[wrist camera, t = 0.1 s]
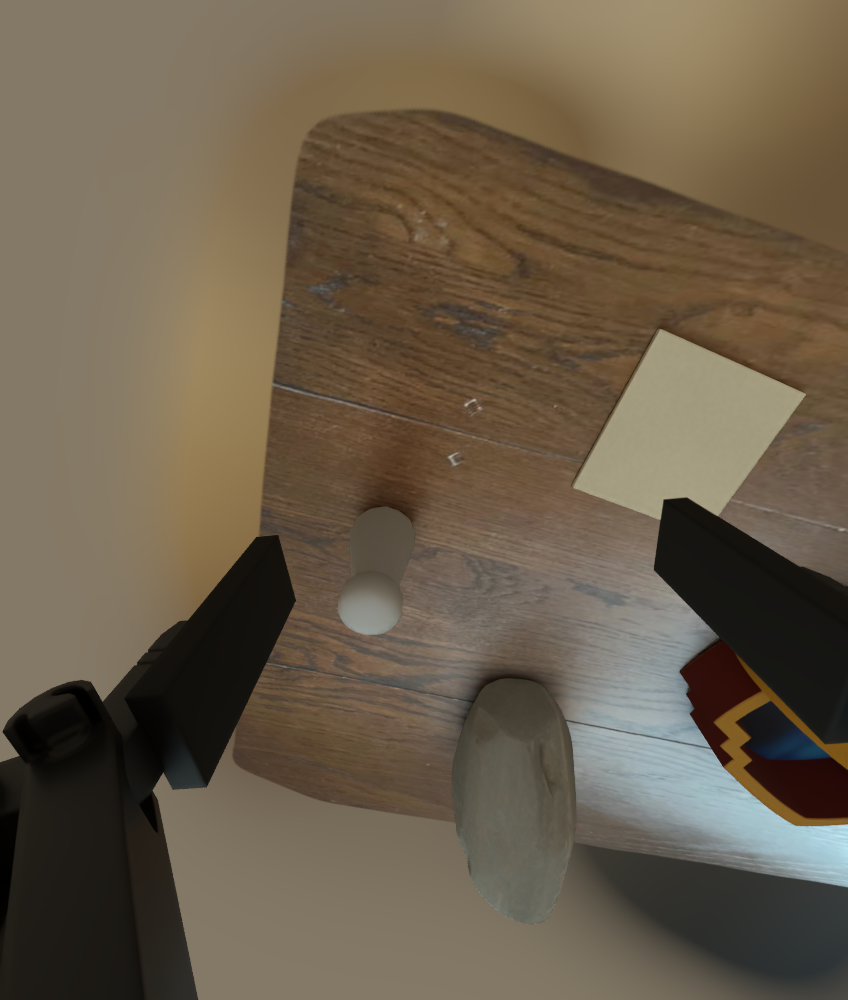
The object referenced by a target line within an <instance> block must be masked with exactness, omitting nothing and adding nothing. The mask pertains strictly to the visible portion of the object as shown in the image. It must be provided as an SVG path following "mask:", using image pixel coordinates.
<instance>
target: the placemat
mask: <svg viewBox="0 0 848 1000" xmlns="http://www.w3.org/2000/svg"><path fill="white" fill-rule="evenodd" d="M805 395H806V394H805V393H803V392H801V391H799V390H796V389H794V388H792V387H790V386H787V385H785V384H783V383H781V382H779V381H776V380H774V379H772V378H770V377H767V376H765V375H763V374H761V373H758V372H756V371H754V370H752V369H749V368H747V367H745V366H743V365H741V364H738V363H736V362H734V361H732V360H729V359H727V358H725V357H723V356H720V355H718V354H716V353H714V352H711V351H709V350H707V349H705V348H703V347H700V346H698V345H696V344H694V343H691V342H689V341H687V340H685V339H682V338H680V337H678V336H676V335H673V334H671V333H669V332H667V331H665V330H662V329H657V331H656V333H655V335H654V337H653V339H652V340H651V342H650V344H649V346H648V348H647V349H646V351H645V353H644V355H643V357H642V358H641V360H640V362H639V364H638V366H637V368H636V369H635V371H634V373H633V375H632V377H631V378H630V380H629V382H628V384H627V386H626V387H625V389H624V391H623V393H622V395H621V397H620V398H619V400H618V402H617V404H616V406H615V407H614V409H613V411H612V413H611V415H610V416H609V418H608V420H607V422H606V424H605V426H604V427H603V429H602V431H601V433H600V435H599V436H598V438H597V440H596V442H595V444H594V445H593V447H592V449H591V451H590V453H589V455H588V456H587V458H586V460H585V462H584V464H583V465H582V467H581V469H580V471H579V473H578V474H577V476H576V478H575V480H574V482H573V484H572V485H571V486H572V487H573V488H575V489H578V490H581V491H583V492H586V493H589V494H591V495H594V496H597V497H599V498H602V499H605V500H608V501H610V502H613V503H616V504H618V505H621V506H624V507H626V508H629V509H632V510H635V511H637V512H640V513H643V514H645V515H648V516H651V517H653V518H656V519H659V520H661V514H662V507H663V499H673V498H684V497H687V498H689V499H691V500H692V501H694V502H695V503H697V504H699V505H700V506H702V507H703V508H705V509H707V510H708V511H710V512H712V513H713V514H715V515H716V516H718V515H719V514H720V512H721V511H722V510H723V508H724V507H725V506H726V504H727V503H728V501H729V500H730V499H731V497H732V496H733V495H734V493H735V492H736V490H737V489H738V488H739V486H740V485H741V483H742V482H743V481H744V479H745V478H746V477H747V475H748V474H749V472H750V471H751V470H752V468H753V467H754V466H755V464H756V463H757V461H758V460H759V459H760V457H761V456H762V454H763V453H764V452H765V450H766V449H767V448H768V446H769V445H770V443H771V442H772V441H773V439H774V438H775V437H776V435H777V434H778V432H779V431H780V430H781V428H782V427H783V425H784V424H785V423H786V421H787V420H788V419H789V417H790V416H791V414H792V413H793V412H794V410H795V409H796V408H797V406H798V405H799V403H800V402H801V401H802V399H803V398H804V396H805Z"/></svg>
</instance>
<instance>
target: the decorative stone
mask: <svg viewBox="0 0 848 1000" xmlns="http://www.w3.org/2000/svg"><path fill="white" fill-rule="evenodd" d="M452 798H453V803H454V810H455V820H456V830H457V835H458V839H459V842H460V844H461V847H462V848H463V851H464V853H465V854H466V856H467V859H468V868H469V873H470V877H471V879H472V881H473V883H474V885H475V886H476V888H477V889H478V891H479V892H480V894H481V895H482V896H483V897H484V899H485V900H487V902H488V903H489V904H490V905H491V906H493V908H495V909H496V910H497V911H499V912H500V913H501V914H502V915H504V916H507V917H509V918H512V919H514V920H515V921H518V922H521V923H525V924H537V923H538V924H539V923H543V922H545V921H546V920H547V919H548V918H549V916H550V915H551V913H552V911H553V909H554V906H555V903H556V901H557V898H558V896H559V893H560V890H561V887H562V884H563V880H564V877H565V874H566V871H567V867H568V864H569V860H570V856H571V852H572V847H573V843H574V837H575V830H576V792H575V776H574V761H573V748H572V741H571V736H570V733H569V729H568V726H567V723H566V720H565V718H564V716H563V714H562V711H561V709H560V708H559V706H558V704H557V702H556V701H555V699H554V698H553V697H552V695H551V694H550V693H549V692H548V691H547V690H546V689H545V688H544V687H543V686H542V685H540V684H539V683H536V682H533V681H529V680H523V679H514V678H504V679H500V680H496V681H494V682H491V683H489V684H488V685H486V686H485V687H484V688H483V689H482V690H481V692H480V693H479V695H478V697H477V698H476V700H475V702H474V704H473V706H472V708H471V710H470V712H469V714H468V716H467V718H466V721H465V723H464V726H463V729H462V732H461V735H460V739H459V742H458V745H457V749H456V753H455V757H454V762H453V770H452Z"/></svg>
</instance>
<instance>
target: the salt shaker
mask: <svg viewBox="0 0 848 1000" xmlns="http://www.w3.org/2000/svg"><path fill="white" fill-rule="evenodd" d="M414 547H415V530H414V528H413V526H412V524H411V522H410V519H409V518H407V517H406V516H405V515H404V514H402V513H401V512H400V511H399V510H395V509H392V508H390V507H388V506H384V507H377V508H371V509H369V510H367V511H366V512H364V513H363V514H361V515H359V516H358V517H357V519H356V521H355V522H354V524H353V526H352V528H351V536H350V550H351V578H350V579H349V580H347V582H346V584H345V585H344V587H343V589H342V591H341V593H340V595H339V616H340V617H341V619H342V621H343V622H344V624H345V625H346V626H347V627H349V628H350V629H352V630H353V631H354V632H356V633H361V634H365V635H376V634H383V633H384V632H386V631H388V630H390V629H391V628H393V627H394V626H395V624H396V623H397V621H398V620H399V618H400V616H401V613H402V601H403V594H402V592H401V590H400V588H399V585H400V583H401V580H402V578H403V575H404V572H405V570H406V567H407V565H408V562H409V560H410V557H411V555H412V552H413V549H414Z"/></svg>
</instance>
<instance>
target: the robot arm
mask: <svg viewBox="0 0 848 1000" xmlns="http://www.w3.org/2000/svg"><path fill="white" fill-rule="evenodd" d="M654 571H655V572H656V573H657V574H658V575H659V576H660V577H661V578H662V579H663V580H664V581H665V582H666V583H667V584H668V585H669V586H670V587H671V588H672V589H673V590H674V591H675V592H676V593H677V594H678V595H679V596H680V597H681V598H682V599H683V600H684V601H685V602H686V603H687V604H688V605H689V606H690V607H691V608H692V609H693V610H694V611H695V612H696V613H697V614H698V615H699V616H700V617H701V619H702V620H703V621H704V622H705V623H706V624H707V625H708V626H709V627H710V628H711V629H712V630H713V631H714V632H715V633H716V634H717V635H718V636H719V637H720V638H721V639H722V640H723V641H724V642H725V643H726V644H727V645H728V646H729V647H730V648H731V649H732V650H733V651H734V652H735V653H736V654H737V655H738V656H739V657H740V658H741V659H742V660H743V661H744V662H745V663H746V664H747V665H748V667H749V668H750V669H751V670H752V671H753V672H754V673H755V674H756V675H757V676H758V677H759V678H760V679H761V680H762V681H763V682H764V683H765V684H766V685H767V686H768V687H769V688H770V689H771V690H772V691H773V692H774V693H775V694H776V695H777V696H778V697H779V698H780V699H781V700H782V701H783V702H784V703H785V704H786V705H787V706H788V707H789V708H790V709H791V710H792V711H793V712H794V713H795V715H796V716H797V717H798V718H799V719H800V720H801V721H802V722H803V723H804V724H805V725H806V726H807V727H808V728H809V729H810V730H811V731H812V732H813V733H814V734H815V735H816V736H817V737H818V738H819V739H820V740H821V741H822V742H823V743H824V744H839V743H848V588H847V587H845V586H843V585H842V584H840V583H838V582H837V581H835V580H833V579H832V578H830V577H828V576H825V575H823V574H820V573H817V572H815V571H812V570H810V569H807V568H805V567H799V566H797V565H796V564H794V563H792V562H791V561H789V560H788V559H786V558H784V557H783V556H781V555H779V554H778V553H776V552H775V551H773V550H771V549H770V548H768V547H767V546H765V545H763V544H762V543H760V542H758V541H757V540H755V539H754V538H752V537H750V536H749V535H747V534H746V533H744V532H742V531H741V530H739V529H737V528H736V527H734V526H733V525H731V524H729V523H728V522H726V521H724V520H723V519H721V518H720V517H718V516H716V515H715V514H713V513H712V512H710V511H708V510H707V509H705V508H703V507H702V506H700V505H699V504H697V503H695V502H694V501H692V500H691V499H689V498H687V497H684V498H673V499H663V507H662V514H661V521H660V528H659V535H658V542H657V550H656V557H655V564H654ZM295 601H296V599H295V595H294V592H293V588H292V584H291V581H290V577H289V573H288V569H287V566H286V562H285V558H284V555H283V551H282V547H281V544H280V540H279V536H278V535H273V536H263V537H256V538H255V540H254V541H253V542H252V543H251V544H250V546H249V547H248V548H247V549H246V550H245V552H244V553H243V554H242V555H241V557H240V558H239V559H238V560H237V561H236V563H235V564H234V565H233V566H232V568H231V569H230V570H229V571H228V572H227V574H226V575H225V576H224V577H223V578H222V580H221V581H220V582H219V583H218V584H217V586H216V587H215V588H214V590H213V591H212V592H211V593H210V594H209V595H208V597H207V598H206V599H205V600H204V602H203V603H202V604H201V605H200V607H199V608H198V609H197V610H196V611H195V613H194V614H193V615H192V616H191V617H190V619H189V620H188V621H179V622H178V623H177V624H175V625H174V626H172V627H171V628H170V629H168V630H167V631H166V632H164V633H163V634H162V635H161V636H160V637H159V638H158V639H157V640H156V641H155V642H154V644H153V645H152V646H151V647H150V648H149V649H148V653H145V654H144V655H143V656H142V657H141V659H140V660H139V661H138V662H137V665H136V666H134V667H133V668H132V669H131V670H130V671H129V672H128V673H127V675H126V676H125V677H124V678H123V679H122V680H121V682H120V683H119V684H118V685H117V686H116V687H115V688H114V690H113V691H112V692H111V693H110V694H109V695H108V696H107V698H106V699H105V700H104V701H103V702H102V700H101V699H100V697H99V695H98V693H97V692H96V690H95V688H94V686H93V685H92V683H91V682H88V681H84V680H79V681H73V682H67V683H65V684H62V685H59V686H56V687H54V688H52V689H50V690H48V691H46V692H44V693H42V694H40V695H38V696H37V697H35V698H33V699H32V700H31V701H29V702H28V703H27V704H25V705H24V706H23V707H21V708H20V709H19V710H18V711H17V712H16V713H15V714H14V715H13V716H12V717H11V718H10V719H9V720H8V722H7V724H6V726H5V728H4V730H3V733H4V735H5V736H6V737H7V739H8V740H9V741H10V743H11V744H12V746H13V747H14V748H15V750H16V751H17V753H18V754H19V755H20V756H18V757H15V758H12V759H9V760H6V761H3V762H0V1000H198V997H197V992H196V987H195V982H194V977H193V972H192V967H191V962H190V957H189V952H188V947H187V942H186V937H185V932H184V928H183V922H182V917H181V913H180V908H179V903H178V898H177V893H176V888H175V883H174V878H173V873H172V868H171V863H170V859H169V854H168V849H167V843H166V839H165V834H164V829H163V824H162V819H161V814H160V809H159V804H158V800H157V798H156V796H155V794H154V793H153V791H152V790H153V788H154V787H155V785H156V783H157V782H158V780H159V778H160V777H161V775H162V773H163V772H164V774H165V776H166V778H167V780H168V782H169V784H170V785H171V787H172V789H173V790H174V789H188V788H202V787H207V785H208V783H209V781H210V779H211V777H212V775H213V773H214V771H215V769H216V766H217V764H218V763H219V760H220V758H221V756H222V754H223V752H224V750H225V748H226V746H227V744H228V742H229V739H230V737H231V735H232V733H233V731H234V729H235V727H236V725H237V723H238V721H239V719H240V717H241V714H242V712H243V710H244V708H245V706H246V704H247V702H248V700H249V698H250V696H251V693H252V691H253V689H254V687H255V685H256V683H257V681H258V679H259V677H260V675H261V673H262V670H263V668H264V666H265V664H266V662H267V660H268V658H269V656H270V654H271V652H272V650H273V647H274V645H275V643H276V641H277V639H278V637H279V635H280V633H281V631H282V629H283V627H284V624H285V622H286V620H287V618H288V616H289V614H290V612H291V610H292V608H293V606H294V604H295Z"/></svg>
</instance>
